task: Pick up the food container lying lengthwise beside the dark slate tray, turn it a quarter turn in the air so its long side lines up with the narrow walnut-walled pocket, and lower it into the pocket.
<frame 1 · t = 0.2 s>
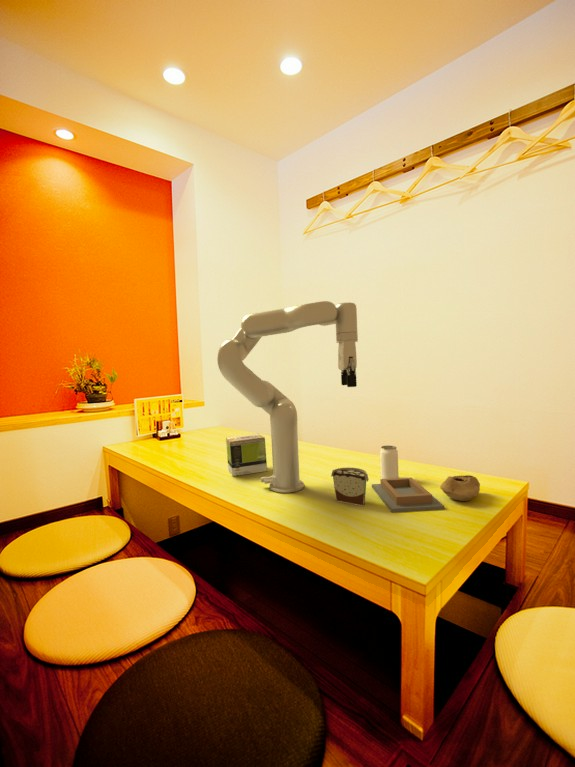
hand: (348, 385, 134), 36 cm above the table, tool pointing down, fingers open, 9 cm apart
tea box: (247, 471, 159), on the table
food container: (353, 500, 121), on the table
oil lamp: (461, 497, 120), on the table
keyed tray: (404, 497, 122), on the table
can: (389, 479, 141), on the table
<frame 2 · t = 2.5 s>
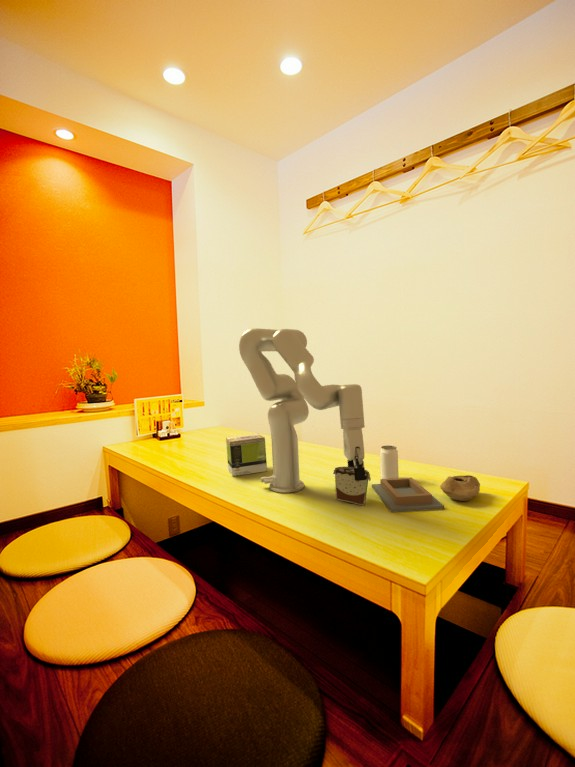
hand: (356, 475, 120), 8 cm above the table, tool pointing down, fingers open, 9 cm apart
food container: (353, 500, 121), on the table, touching gripper
everything else where it was.
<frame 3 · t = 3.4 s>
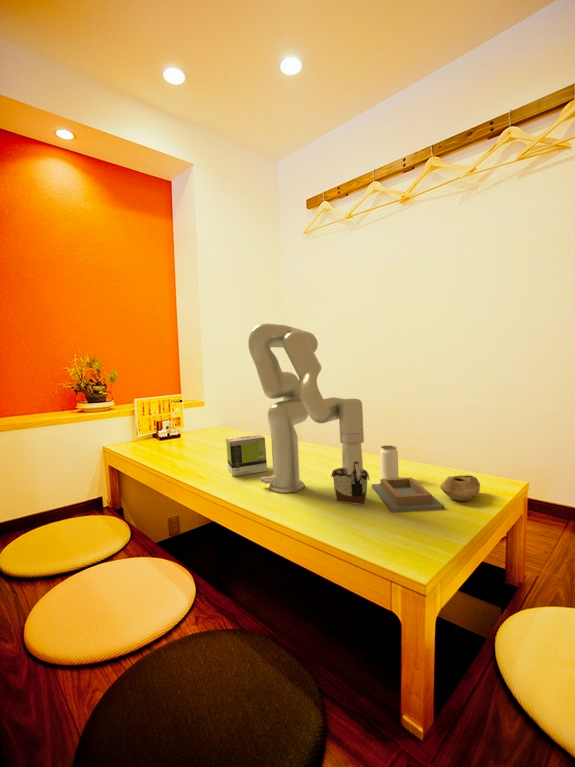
hand: (354, 490, 121), 3 cm above the table, tool pointing down, fingers closed on food container, 7 cm apart
food container: (353, 500, 122), on the table, touching gripper
everything else where it was.
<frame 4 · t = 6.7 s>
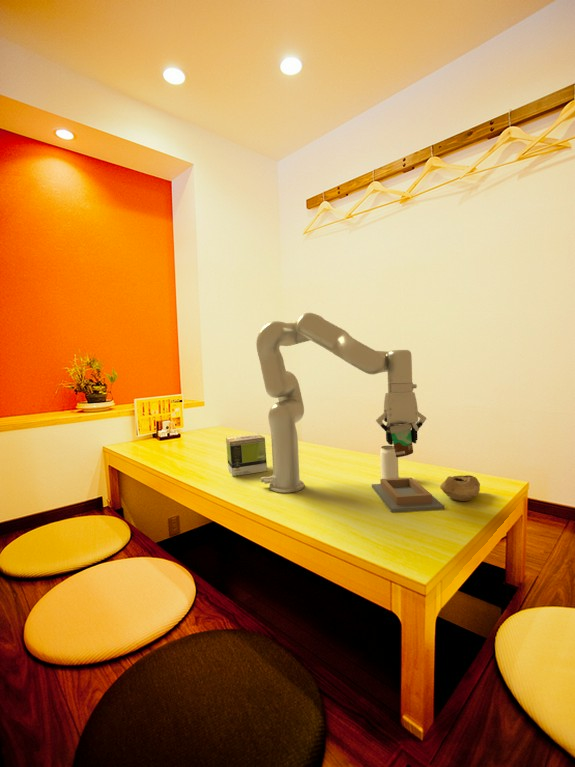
hand: (401, 442, 121), 18 cm above the table, tool pointing down, fingers closed on food container, 7 cm apart
food container: (407, 453, 121), point 14 cm above the table, touching gripper
everything else where it was.
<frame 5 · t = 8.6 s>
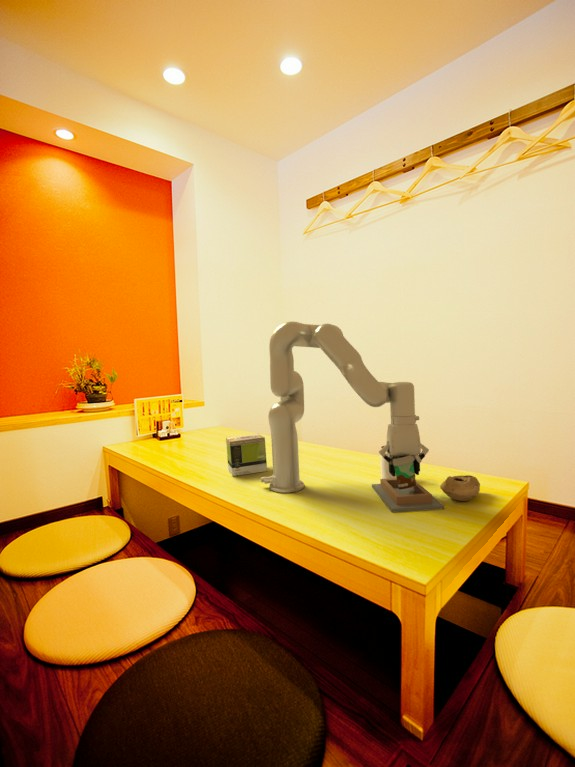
hand: (404, 474, 121), 8 cm above the table, tool pointing down, fingers closed on food container, 7 cm apart
food container: (410, 484, 121), point 4 cm above the table, touching gripper
everything else where it was.
when the fingers open (5 cm above the table, at t = 10.1 s): food container stays where it is, resting on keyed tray.
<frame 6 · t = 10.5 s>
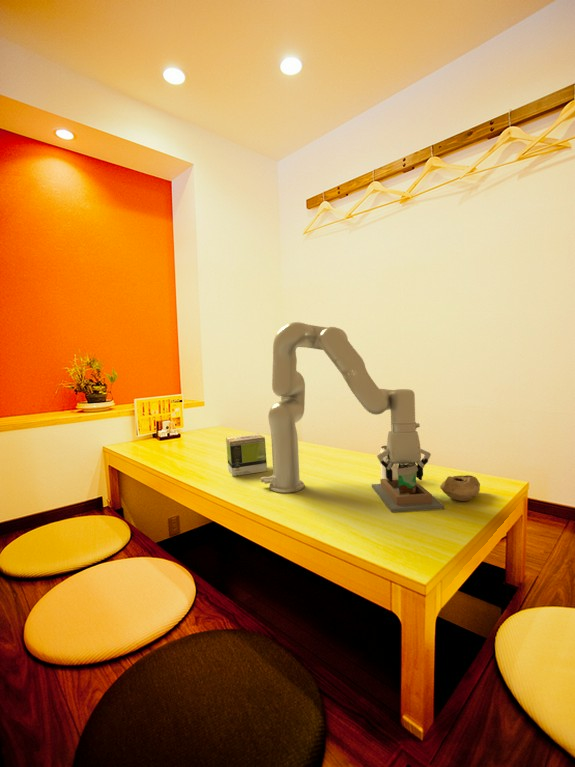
hand: (404, 479, 122), 6 cm above the table, tool pointing down, fingers open, 9 cm apart
food container: (410, 494, 122), point 1 cm above the table, touching gripper, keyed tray
everything else where it was.
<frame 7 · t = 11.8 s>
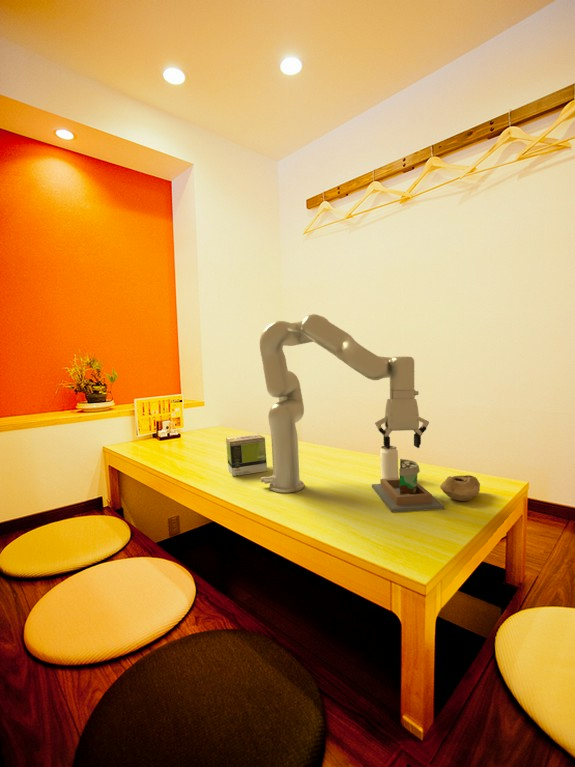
hand: (402, 447, 121), 16 cm above the table, tool pointing down, fingers open, 9 cm apart
food container: (410, 494, 122), point 1 cm above the table, touching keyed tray
everything else where it was.
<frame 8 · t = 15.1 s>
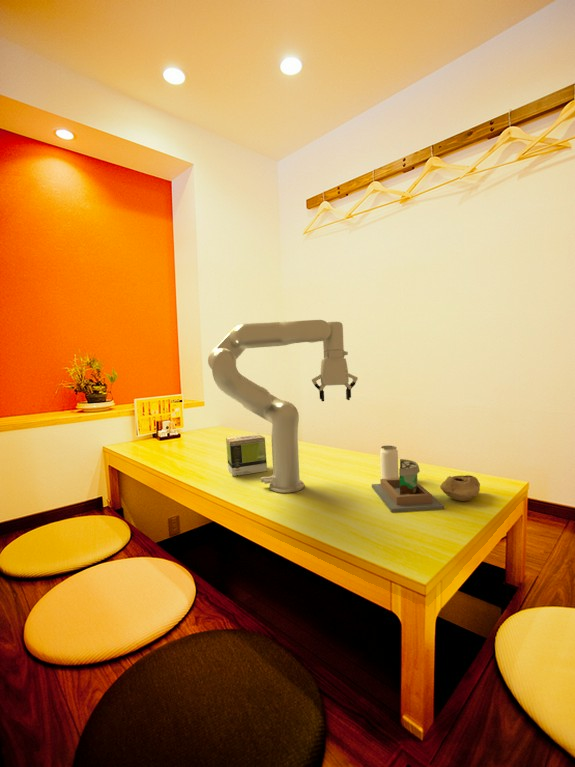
hand: (335, 400, 141), 30 cm above the table, tool pointing down, fingers open, 9 cm apart
nothing on the table moved.
at the end: food container 1.7 cm off-centre on the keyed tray, point 0.8 cm above the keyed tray's base; food container tilted 0°; the gripper is holding nothing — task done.
